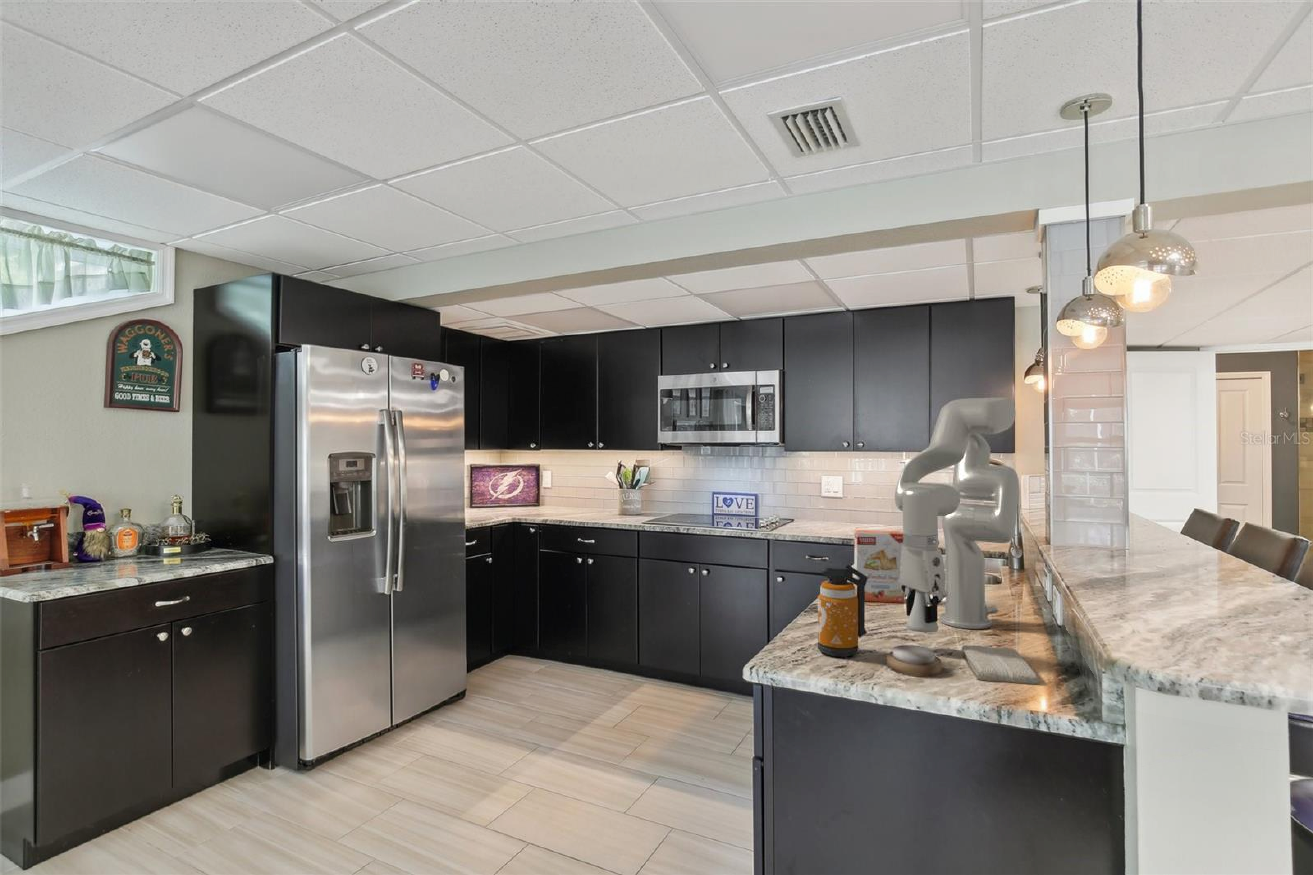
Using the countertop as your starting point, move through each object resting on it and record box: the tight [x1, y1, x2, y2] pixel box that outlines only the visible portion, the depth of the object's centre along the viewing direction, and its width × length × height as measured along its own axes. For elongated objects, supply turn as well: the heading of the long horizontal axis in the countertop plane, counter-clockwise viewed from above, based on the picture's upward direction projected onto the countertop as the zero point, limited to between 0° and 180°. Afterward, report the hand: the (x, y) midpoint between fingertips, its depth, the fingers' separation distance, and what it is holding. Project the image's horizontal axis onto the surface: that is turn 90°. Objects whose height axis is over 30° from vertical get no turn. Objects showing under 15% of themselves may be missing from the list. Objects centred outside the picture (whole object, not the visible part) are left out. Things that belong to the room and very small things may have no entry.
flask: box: [905, 590, 939, 633], centre depth 156 cm, size 7×7×10 cm
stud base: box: [886, 644, 942, 678], centre depth 145 cm, size 11×11×4 cm
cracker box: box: [853, 529, 905, 604], centre depth 203 cm, size 14×6×21 cm, turn 81°
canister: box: [817, 564, 868, 658], centre depth 155 cm, size 9×11×20 cm
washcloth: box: [961, 644, 1040, 685], centre depth 145 cm, size 12×18×3 cm, turn 167°
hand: (921, 617), depth 156 cm, fingers closed on flask, 5 cm apart
